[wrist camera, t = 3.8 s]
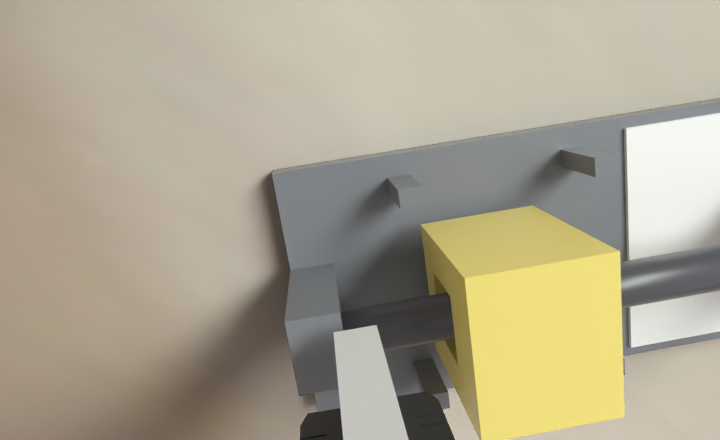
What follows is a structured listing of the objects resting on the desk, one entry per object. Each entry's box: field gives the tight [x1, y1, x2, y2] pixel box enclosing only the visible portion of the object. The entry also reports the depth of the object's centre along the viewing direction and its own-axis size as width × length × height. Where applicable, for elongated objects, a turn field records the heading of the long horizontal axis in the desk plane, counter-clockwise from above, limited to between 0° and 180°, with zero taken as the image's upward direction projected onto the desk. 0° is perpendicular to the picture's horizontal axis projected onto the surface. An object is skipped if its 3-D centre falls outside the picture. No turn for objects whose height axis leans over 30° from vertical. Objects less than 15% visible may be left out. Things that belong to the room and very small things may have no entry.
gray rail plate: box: [272, 98, 720, 412], centre depth 23 cm, size 12×25×7 cm, turn 98°
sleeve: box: [421, 205, 625, 440], centre depth 21 cm, size 6×5×7 cm
